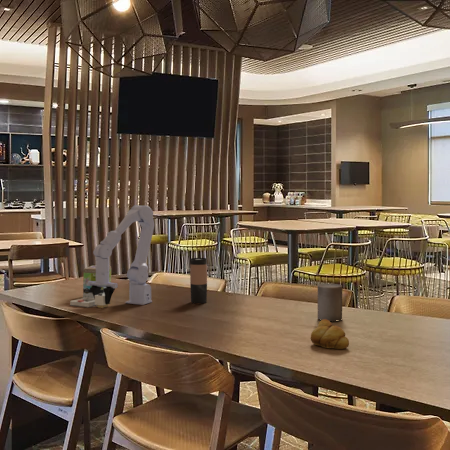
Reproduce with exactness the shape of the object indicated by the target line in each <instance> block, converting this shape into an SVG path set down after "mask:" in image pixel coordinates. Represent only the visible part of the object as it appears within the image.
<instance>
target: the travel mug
mask: <svg viewBox="0 0 450 450" xmlns="http://www.w3.org/2000/svg"><path fill="white" fill-rule="evenodd" d="M189 260H190V261H189V263H190V266H189V268H190V272H189V273H190V274H189V275H190V276H189V277H190V279H189V280H190V282H189V283H190V288H189V289H190V302H192V303H191V304H195V303H201V304H205V303H207V299H208V262H207V261H208V259H207V258H206V257H191V258H190V259H189Z"/></svg>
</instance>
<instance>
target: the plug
mask: <svg viewBox="0 0 450 450" xmlns="http://www.w3.org/2000/svg"><path fill="white" fill-rule="evenodd" d="M95 305H97V306H96V307H97V308H99V309H100V308H102V309H103V308H107V307H109V306H108V305H109V304H105V294H102V293H99V294H98V295H95Z"/></svg>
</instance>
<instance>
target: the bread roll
mask: <svg viewBox="0 0 450 450" xmlns="http://www.w3.org/2000/svg"><path fill="white" fill-rule="evenodd" d="M310 341H311V343H312V344H313V345H314V346H317V347H318V346H320V347H322V348H325V349H337V350H343V349H347V348H348V347H349V344H350V341H349V339H348V337H346V332H345V330H344V329H343V328H342V327H340V326H339V325H334V324H333V322H330V321H329V320H327V319H323V320H321V321H320V320H319V322H318V324H317V327H316V328H315V329H313V330H312V331H311V333H310Z"/></svg>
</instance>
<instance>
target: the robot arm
mask: <svg viewBox="0 0 450 450" xmlns="http://www.w3.org/2000/svg"><path fill="white" fill-rule="evenodd" d="M136 222H138V224H139V225H140V227H141V229H140V234H139V239H138V242H137V243H138V244H137V247H136V251H135V255H134V256H135V257H134V259H133V262H131V263H130V267H129V269H128V270H127V271H126V272H127V273H126V277H127V279H128V281H129V283H128V284H129V290H128V291H129V299H128V300H126V301H124V303H125V304H131V305H132V304H133V305H142V306H143V305H146V304H150V303H153V300H152V286H151V285H150V284H149V283H146V282H147V281H148V280H149V266H148V264H147V261H148V257H149V252H150V247H151V243H152V239H153V234H154V230H155V221H154V211H153V209H152V208H151V207H150V206H149V205H147V204H146V205H145V204H144V205H139V204H134V205H133V206H132V207H130V209H129V210H128V211H127V213H126V215H125V216H124V218H123V219H122V220H121V221H120V223H119V224H118V226H117V227H116V228H115V229H114V230H110V231H108V232H107V233H106V236H104V237H105V238H103V240H101V241H100V242H99V243H100V244H97V245H96V246H95V247H94V250H93V251H92V252H93V255H94V257H95V266H96V281H88V286H92V287H91V288H90V290H91V292H92V294H93V296H94V299H95V295H98V294H99V293H100V291H101V287H107V288H104V289H103V290H104V293H105V304H108V305H109V304H111V300H112V296H113V293H114V292H115V290H116V289H117V288H118V283H117V282H112V281H111V282H109V266H110V257H111V256H112V255H113V254H112V253H113V250H114V249H115V247H116V246H117V245H118V244H119V243H120V241H121V240H122V234H124V233H125V232H126V231H127V229H128V228H129V227H130V226H131V225H132V224H133V223H136ZM102 285H105V286H102Z"/></svg>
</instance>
